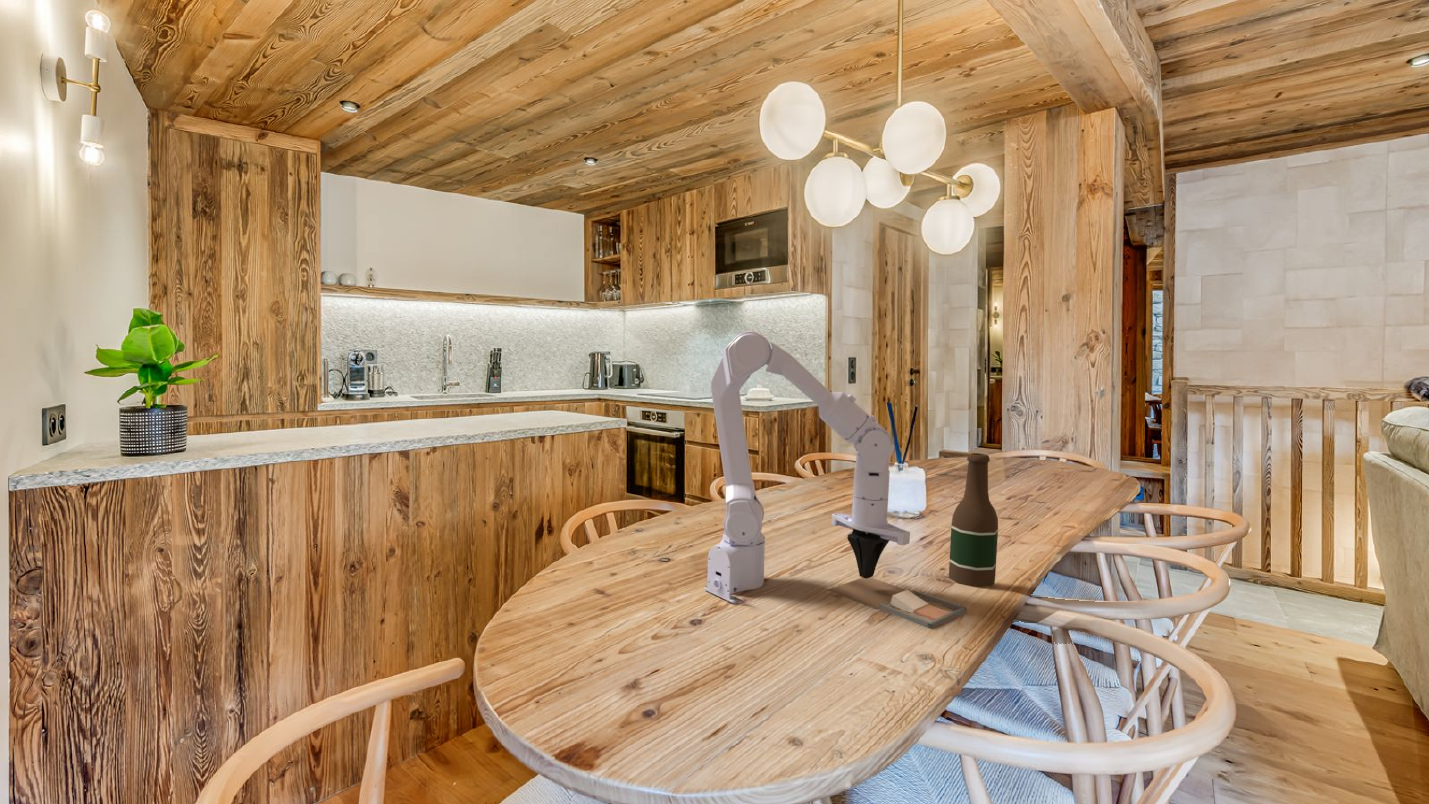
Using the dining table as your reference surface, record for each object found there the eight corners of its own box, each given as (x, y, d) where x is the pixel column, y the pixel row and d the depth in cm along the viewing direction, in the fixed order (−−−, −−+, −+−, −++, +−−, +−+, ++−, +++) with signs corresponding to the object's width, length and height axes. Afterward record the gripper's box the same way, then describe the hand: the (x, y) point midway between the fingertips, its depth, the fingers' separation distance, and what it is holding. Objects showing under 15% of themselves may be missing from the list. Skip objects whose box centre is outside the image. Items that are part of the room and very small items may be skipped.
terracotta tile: (937, 629, 96) (937, 619, 96) (913, 620, 99) (914, 610, 99) (951, 622, 98) (952, 612, 98) (928, 613, 101) (928, 604, 101)
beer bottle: (999, 598, 110) (1007, 459, 108) (951, 593, 111) (959, 456, 109) (989, 582, 117) (997, 452, 115) (944, 578, 119) (951, 449, 117)
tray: (930, 638, 93) (930, 623, 93) (878, 617, 100) (879, 604, 100) (966, 621, 99) (967, 607, 99) (915, 603, 106) (916, 590, 106)
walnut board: (875, 618, 100) (875, 608, 100) (826, 598, 108) (826, 589, 108) (916, 602, 107) (916, 593, 107) (867, 584, 115) (867, 576, 114)
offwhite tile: (911, 618, 99) (913, 609, 98) (890, 603, 102) (892, 595, 101) (925, 611, 101) (928, 603, 101) (904, 597, 104) (907, 589, 104)
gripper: (922, 502, 104) (917, 584, 105) (851, 486, 115) (847, 560, 116) (896, 508, 99) (892, 593, 100) (824, 490, 110) (821, 567, 111)
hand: (866, 576), depth 108 cm, fingers closed
